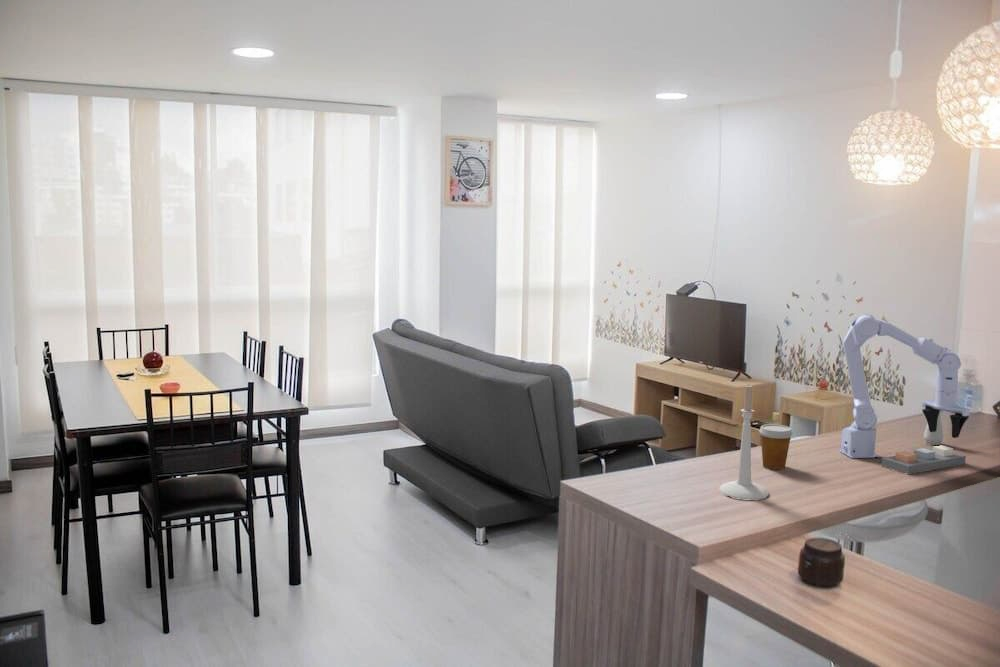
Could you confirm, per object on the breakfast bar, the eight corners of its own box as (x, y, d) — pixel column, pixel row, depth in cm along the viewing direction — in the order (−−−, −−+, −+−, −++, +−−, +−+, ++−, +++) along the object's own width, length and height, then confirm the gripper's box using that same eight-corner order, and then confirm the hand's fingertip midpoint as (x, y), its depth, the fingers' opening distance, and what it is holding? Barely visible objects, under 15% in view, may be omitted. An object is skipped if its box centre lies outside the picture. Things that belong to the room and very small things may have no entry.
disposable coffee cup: (779, 473, 242) (781, 433, 241) (750, 466, 250) (752, 427, 248) (797, 467, 248) (799, 428, 247) (768, 460, 256) (770, 422, 254)
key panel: (907, 474, 242) (908, 466, 241) (881, 466, 250) (882, 458, 250) (965, 464, 252) (965, 456, 252) (938, 456, 260) (939, 448, 260)
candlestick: (778, 495, 223) (784, 386, 219) (744, 503, 217) (749, 391, 213) (743, 482, 234) (748, 377, 230) (709, 489, 228) (713, 382, 224)
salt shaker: (946, 446, 271) (949, 407, 270) (928, 446, 272) (931, 407, 270) (937, 441, 277) (940, 403, 275) (919, 441, 277) (922, 403, 275)
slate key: (925, 460, 248) (926, 453, 248) (913, 457, 252) (914, 449, 251) (934, 459, 250) (935, 451, 250) (922, 455, 253) (923, 448, 253)
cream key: (943, 457, 252) (944, 450, 251) (931, 454, 255) (932, 446, 255) (952, 456, 253) (953, 448, 253) (940, 452, 257) (941, 445, 256)
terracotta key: (906, 464, 245) (907, 456, 245) (895, 460, 248) (895, 452, 248) (916, 462, 247) (916, 454, 246) (904, 458, 250) (905, 451, 250)
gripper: (977, 393, 247) (974, 438, 249) (934, 385, 260) (931, 427, 262) (961, 396, 244) (959, 441, 246) (918, 387, 257) (916, 430, 259)
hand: (943, 434), depth 253 cm, fingers open, 7 cm apart
